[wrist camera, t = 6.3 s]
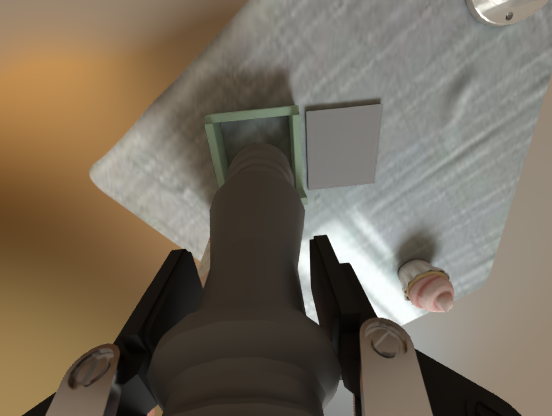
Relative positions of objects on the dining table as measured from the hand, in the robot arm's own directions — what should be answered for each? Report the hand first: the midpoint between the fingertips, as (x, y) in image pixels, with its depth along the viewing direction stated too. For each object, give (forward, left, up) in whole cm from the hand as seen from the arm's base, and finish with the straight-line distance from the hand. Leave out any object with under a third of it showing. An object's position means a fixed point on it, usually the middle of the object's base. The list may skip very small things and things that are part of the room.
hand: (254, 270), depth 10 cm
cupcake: (+28, +29, -27) cm, 49 cm away
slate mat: (+1, +13, -27) cm, 30 cm away
